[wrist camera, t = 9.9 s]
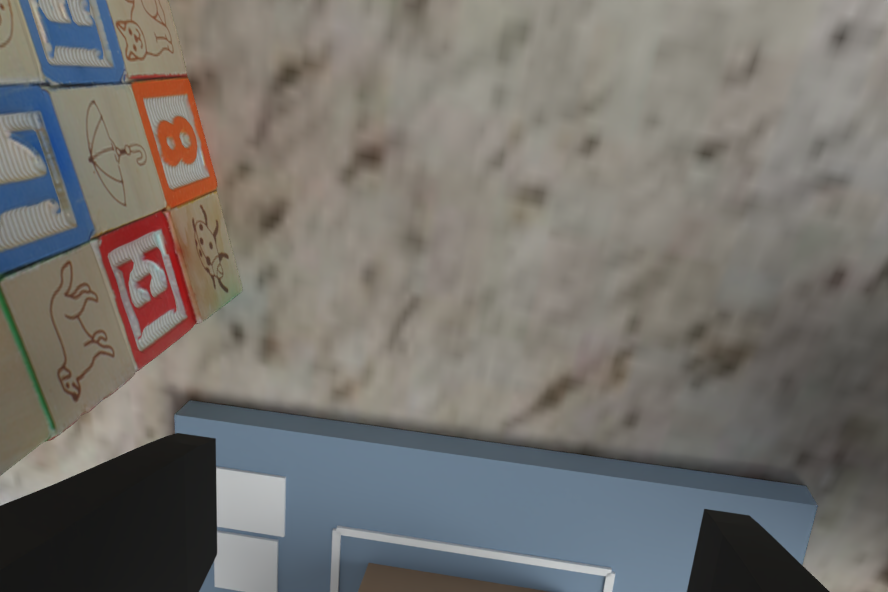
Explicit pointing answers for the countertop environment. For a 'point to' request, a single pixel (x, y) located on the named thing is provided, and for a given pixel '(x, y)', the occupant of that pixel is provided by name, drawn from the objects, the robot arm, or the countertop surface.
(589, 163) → the countertop surface
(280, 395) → the countertop surface
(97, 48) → the stack of blocks
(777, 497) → the blueprint board
